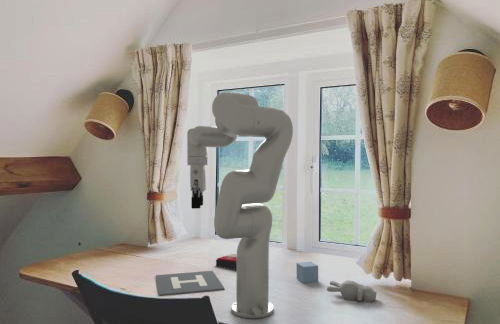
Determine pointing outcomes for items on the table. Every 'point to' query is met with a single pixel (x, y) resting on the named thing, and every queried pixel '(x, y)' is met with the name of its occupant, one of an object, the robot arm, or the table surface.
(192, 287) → the letter mat
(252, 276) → the robot arm
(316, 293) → the table surface
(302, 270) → the blue cube
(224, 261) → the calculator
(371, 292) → the bunny figurine
